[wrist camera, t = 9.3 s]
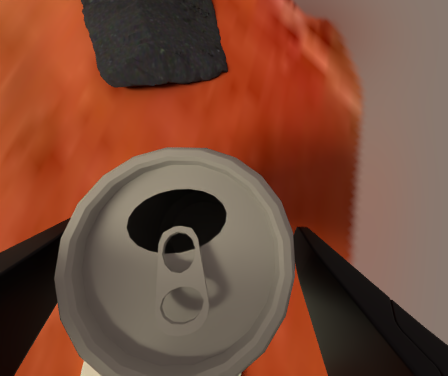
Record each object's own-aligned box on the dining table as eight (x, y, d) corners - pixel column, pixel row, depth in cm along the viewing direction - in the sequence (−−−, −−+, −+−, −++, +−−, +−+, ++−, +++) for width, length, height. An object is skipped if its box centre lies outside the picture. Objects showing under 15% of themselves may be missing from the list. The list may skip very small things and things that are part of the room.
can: (239, 187, 17) (288, 108, 6) (253, 271, 16) (360, 405, 4) (158, 198, 17) (23, 139, 5) (166, 287, 15) (6, 488, 4)
